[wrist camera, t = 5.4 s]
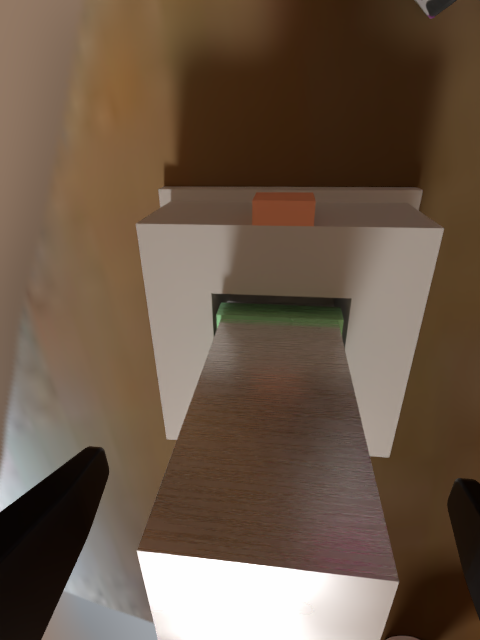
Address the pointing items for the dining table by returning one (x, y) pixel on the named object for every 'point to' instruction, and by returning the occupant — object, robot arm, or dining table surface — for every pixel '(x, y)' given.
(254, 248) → the stand base
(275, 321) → the column
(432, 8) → the candy bar box
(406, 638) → the smoothie
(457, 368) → the dining table surface
